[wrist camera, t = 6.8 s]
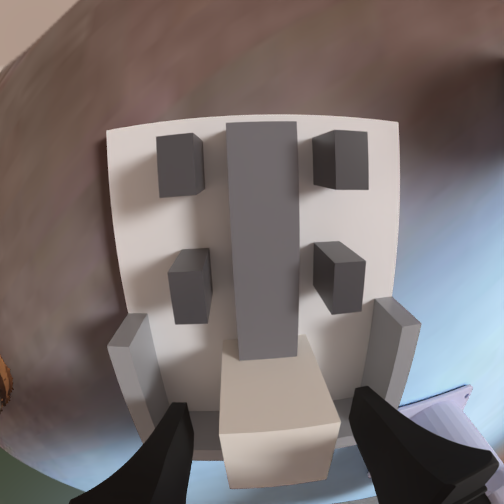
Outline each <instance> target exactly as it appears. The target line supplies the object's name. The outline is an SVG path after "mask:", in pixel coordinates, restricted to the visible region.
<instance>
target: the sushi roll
mask: <svg viewBox="0 0 504 504" xmlns="http://www.w3.org/2000/svg"><path fill="white" fill-rule="evenodd" d="M12 379H13V378H12V376H11V374H10V368H8V367H7V366H6V365H5V363H4V361H3V359H2V357H1V355H0V413H1V411H2V408H1V406H2V407H3V406H6V404H7V403H8V400H9V399H10V398H11V397H10V396H9V395H10V393H11V392H12V389H13V388H12V386H13V382H12ZM13 390H14V389H13ZM9 401H10V400H9Z"/></svg>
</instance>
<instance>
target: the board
mask: <svg viewBox="0 0 504 504" xmlns="http://www.w3.org/2000/svg"><path fill="white" fill-rule="evenodd" d="M259 121H297V140H298V169H299V222H300V268H299V321H298V335H302V334H306V336H307V339H308V341H309V344H310V346H311V348H312V351H313V353H314V356H315V358H316V361H317V363H318V366H319V368H320V371H321V373H322V376H323V378H324V380H325V383H326V385H327V388H328V390H329V393H330V395H331V398H332V400H333V403H334V405H335V408H336V410H337V413H338V416H339V418H340V421H341V424H340V428H339V433H338V437H337V441H336V445H335V449H338V448H343V447H348V446H353V445H357V444H356V442H355V439H354V437H353V433H352V430H351V427H350V423H349V419H348V418H349V414H350V410H351V405H352V401H353V396H354V391H355V388H358V387H363V386H369V387H370V388H371V389H372V390H374V391H375V392H376V393H377V394H378V395H379V396H381V397H382V398H383V399H384V400H385V401H387V402H388V403H389V404H390V405H391V406H393V407H394V408H395V409H397V410H398V407H399V404H400V401H401V398H402V395H403V392H404V388H405V385H406V382H407V379H408V375H409V372H410V368H411V364H412V361H413V357H414V353H415V349H416V345H417V341H418V337H419V332H420V328H421V323H420V322H419V321H418V320H417V319H416V318H415V317H414V316H413V315H412V314H411V313H410V312H408V311H407V310H406V309H405V308H404V307H403V306H402V305H401V304H400V303H399V302H397V301H396V300H395V299H394V298H393V297H392V291H393V283H394V274H395V265H396V254H397V241H398V226H399V203H400V149H399V127H398V122H393V121H385V120H376V119H365V118H354V117H340V116H322V115H237V116H218V117H205V118H193V119H183V120H173V121H165V122H157V123H150V124H143V125H136V126H130V127H124V128H118V129H112V130H107V157H108V174H109V188H110V199H111V209H112V218H113V227H114V234H115V242H116V249H117V255H118V262H119V268H120V274H121V279H122V285H123V290H124V295H125V300H126V305H127V310H128V314H127V316H126V317H125V319H124V320H123V322H122V323H121V325H120V327H119V328H118V330H117V331H116V333H115V334H114V336H113V337H112V339H111V340H110V342H109V344H108V345H107V349H108V352H109V355H110V358H111V361H112V365H113V368H114V371H115V374H116V377H117V380H118V382H119V385H120V388H121V391H122V394H123V396H124V399H125V402H126V404H127V407H128V409H129V412H130V414H131V417H132V419H133V422H134V424H135V426H136V429H137V431H138V433H139V436H140V438H141V440H142V442H143V444H144V443H145V441H146V440H147V439H148V438H149V436H150V435H151V434H152V432H153V431H154V429H155V428H156V427H157V425H158V424H159V422H160V421H161V419H162V418H163V416H164V414H165V413H166V411H167V409H168V408H169V406H170V404H171V403H172V402H187V406H188V410H189V414H190V418H191V422H192V426H193V430H194V451H193V458H192V460H197V461H224V458H223V453H222V448H221V443H220V437H219V417H220V393H221V371H222V351H223V340H232V339H238V335H237V321H236V307H235V292H234V276H233V260H232V243H231V225H230V206H229V186H228V165H227V142H226V123H231V122H259Z"/></svg>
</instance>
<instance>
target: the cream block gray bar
mask: <svg viewBox="0 0 504 504" xmlns="http://www.w3.org/2000/svg"><path fill="white" fill-rule="evenodd" d="M226 142H227V165H228V186H229V206H230V225H231V243H232V260H233V276H234V292H235V307H236V321H237V335H238V339H232V340H223V351H222V371H221V393H220V417H219V437H220V443H221V448H222V453H223V458H224V463H225V468H226V473H227V478H228V482H229V487H230V489H247V488H263V487H275V486H284V485H293V484H300V483H307V482H313V481H319V480H325V479H327V475H328V472H329V468H330V465H331V461H332V457H333V453H334V449H335V445H336V441H337V437H338V433H339V428H340V424H341V421H340V418H339V416H338V413H337V410H336V408H335V405H334V403H333V400H332V398H331V395H330V393H329V390H328V388H327V385H326V383H325V380H324V378H323V376H322V373H321V371H320V368H319V366H318V363H317V361H316V358H315V356H314V353H313V351H312V348H311V346H310V344H309V341H308V339H307V336H306V334H302V335H298V321H299V268H300V222H299V169H298V140H297V121H259V122H231V123H226Z"/></svg>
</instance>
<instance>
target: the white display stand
mask: <svg viewBox="0 0 504 504" xmlns="http://www.w3.org/2000/svg"><path fill="white" fill-rule="evenodd" d="M334 504H379V503H378V499H377V496H375V497H370V498H365V499H360V500H354V501H348V502H342V503H334Z"/></svg>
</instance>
